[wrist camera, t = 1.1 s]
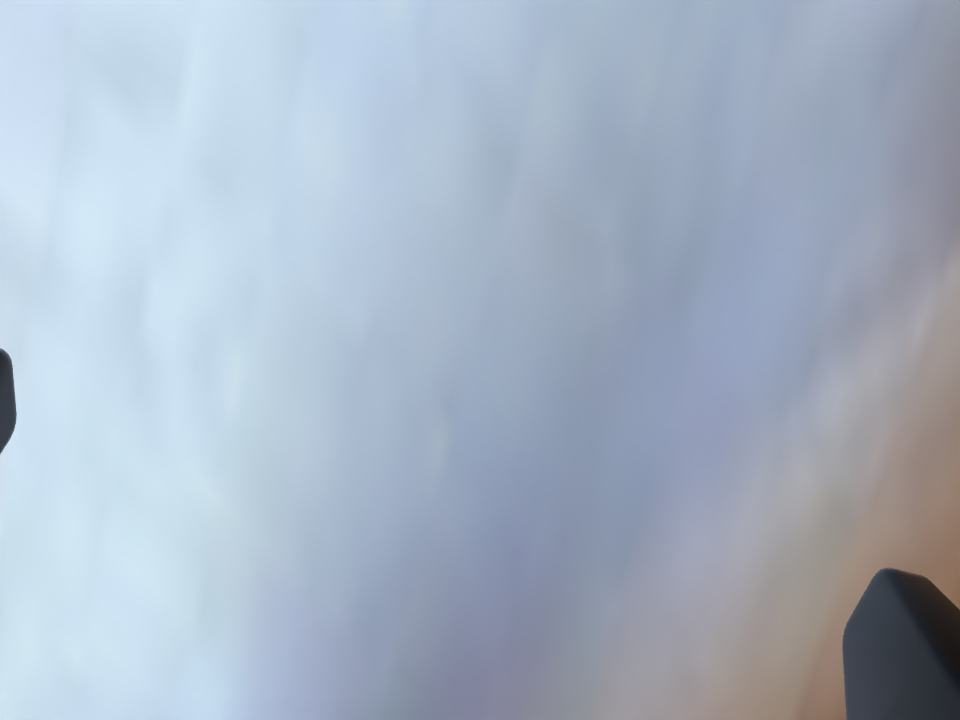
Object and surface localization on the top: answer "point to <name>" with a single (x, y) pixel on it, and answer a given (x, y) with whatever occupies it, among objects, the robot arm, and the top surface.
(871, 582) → the robot arm
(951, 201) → the top surface
